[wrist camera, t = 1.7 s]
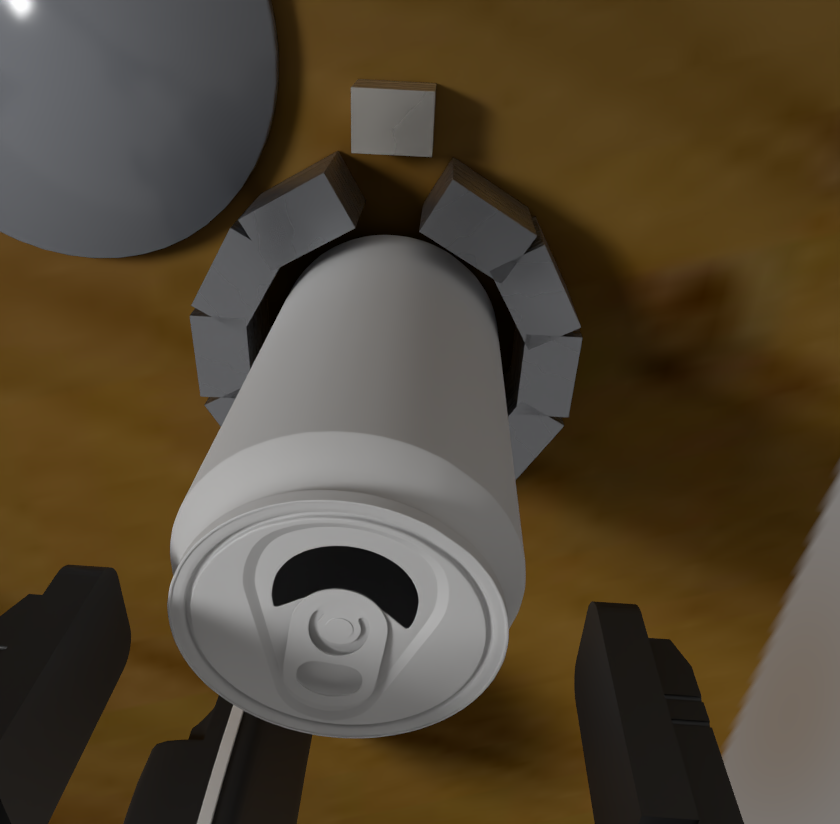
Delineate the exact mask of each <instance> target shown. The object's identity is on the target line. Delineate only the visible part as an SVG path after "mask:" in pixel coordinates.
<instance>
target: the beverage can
mask: <svg viewBox="0 0 840 824" xmlns="http://www.w3.org/2000/svg"><path fill="white" fill-rule="evenodd" d="M170 556H171V565H172V571H173V575H174V576H173V579H172V581H171V584H170V589H169V595H168V602H167V607H168V617H169V623H170V628H171V631H172V634H173V637H174V640H175V642H176V644H177V647H178V648H179V650H180V652H181V654H182V656H183V657H184V659H185V660H186V662H187V663H188V665H189V666H190V667H191V668H192V670H193V671H194V672H195V673H196V674H197V675H198V676H199V677H200V679H201V680H202V681H203V682H204V683H205V684H207V685H208V686H209V687H210V688H211V689H212V690H213V691H215V692H216V693H217V694H219V695H220V696H221V697H223V698H224V699H225V700H227V701H228V702H230V703H232V704H233V705H235V706H236V707H238V708H240V709H242V710H243V711H245V712H247V713H249V714H251V715H253V716H255V717H258V718H260V719H262V720H265V721H267V722H270V723H272V724H275V725H278V726H281V727H284V728H287V729H291V730H295V731H299V732H304V733H308V734H313V735H319V736H327V737H337V738H375V737H384V736H391V735H397V734H402V733H407V732H411V731H415V730H418V729H422V728H424V727H427V726H430V725H433V724H435V723H438V722H440V721H442V720H444V719H446V718H448V717H450V716H452V715H454V714H456V713H457V712H459V711H460V710H462V709H464V708H465V707H466V706H468V705H469V704H470V703H472V702H473V701H474V700H475V699H476V698H477V697H479V696H480V695H481V694H482V693H483V692H484V690H485V689H486V688H487V687H488V686H489V685H490V683H491V682H492V681H493V679H494V678H495V676H496V674H497V673H498V671H499V669H500V667H501V665H502V663H503V661H504V658H505V655H506V651H507V647H508V640H509V628H510V626H511V625H512V623H513V621H514V619H515V617H516V615H517V613H518V611H519V608H520V605H521V602H522V598H523V594H524V589H525V576H526V575H525V558H524V549H523V541H522V532H521V524H520V515H519V507H518V498H517V490H516V481H515V473H514V464H513V456H512V447H511V439H510V430H509V422H508V413H507V405H506V396H505V388H504V380H503V371H502V363H501V354H500V346H499V337H498V329H497V322H496V317H495V313H494V309H493V307H492V304H491V302H490V299H489V297H488V295H487V293H486V291H485V290H484V288H483V286H482V285H481V283H480V282H479V280H478V279H477V278H476V276H475V275H474V274H473V273H472V272H471V271H470V270H469V269H468V268H467V267H465V266H464V265H463V264H462V263H461V262H460V261H458V260H457V259H456V258H455V257H454V256H452V255H451V254H450V253H448V252H446V251H445V250H443V249H441V248H439V247H437V246H435V245H432V244H430V243H428V242H425V241H422V240H418V239H415V238H411V237H405V236H397V235H373V236H365V237H361V238H357V239H353V240H350V241H347V242H344V243H342V244H340V245H337V246H335V247H333V248H331V249H330V250H328V251H326V252H325V253H323V254H322V255H320V256H319V257H318V258H317V259H315V260H314V261H313V262H312V263H311V264H310V265H309V266H308V267H307V268H306V269H305V270H304V271H303V272H302V274H301V275H300V276H299V278H298V279H297V281H296V282H295V284H294V285H293V287H292V289H291V291H290V293H289V295H288V297H287V299H286V301H285V302H284V304H283V306H282V308H281V310H280V312H279V314H278V316H277V318H276V320H275V322H274V324H273V326H272V328H271V330H270V332H269V334H268V336H267V338H266V340H265V342H264V344H263V346H262V348H261V350H260V352H259V354H258V355H257V357H256V359H255V361H254V363H253V365H252V367H251V369H250V371H249V373H248V375H247V377H246V379H245V381H244V383H243V385H242V387H241V389H240V391H239V393H238V395H237V397H236V399H235V401H234V403H233V405H232V407H231V408H230V410H229V412H228V414H227V416H226V418H225V420H224V422H223V424H222V426H221V428H220V430H219V432H218V434H217V436H216V438H215V440H214V442H213V444H212V446H211V448H210V450H209V452H208V454H207V456H206V458H205V459H204V461H203V463H202V465H201V467H200V469H199V471H198V473H197V475H196V477H195V479H194V481H193V483H192V485H191V487H190V489H189V491H188V493H187V495H186V497H185V499H184V501H183V503H182V505H181V507H180V509H179V512H178V514H177V517H176V519H175V522H174V525H173V529H172V536H171V543H170Z"/></svg>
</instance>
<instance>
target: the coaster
mask: <svg viewBox="0 0 840 824" xmlns="http://www.w3.org/2000/svg"><path fill="white" fill-rule="evenodd" d="M278 84H279V48H278V40H277V31H276V22H275V16H274V11H273V7H272V3H271V0H0V232H2V233H5V234H7V235H9V236H11V237H13V238H15V239H17V240H20V241H22V242H25V243H28V244H31V245H34V246H36V247H39V248H42V249H46V250H50V251H54V252H58V253H62V254H67V255H73V256H81V257H90V258H121V257H128V256H135V255H142V254H145V253H149V252H152V251H156V250H159V249H163V248H166V247H168V246H170V245H172V244H175V243H177V242H179V241H181V240H183V239H185V238H187V237H189V236H190V235H192V234H193V233H195V232H196V231H198V230H199V229H201V228H202V227H204V226H205V225H207V224H208V223H209V222H210V221H211V220H212V219H213V218H215V217H216V216H217V215H218V214H219V213H220V212H221V211H222V210H223V209H224V208H225V207H226V206H227V205H228V204H229V203H230V202H231V201H232V200H233V198H234V197H235V196H236V195H237V193H238V192H239V191H240V190H241V189H242V187H243V186H244V185H245V183H246V182H247V180H248V178H249V177H250V175H251V173H252V172H253V170H254V168H255V167H256V165H257V163H258V161H259V159H260V156H261V154H262V151H263V149H264V147H265V144H266V142H267V139H268V136H269V132H270V128H271V125H272V121H273V117H274V113H275V107H276V99H277V91H278Z"/></svg>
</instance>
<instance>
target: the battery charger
mask: <svg viewBox="0 0 840 824" xmlns="http://www.w3.org/2000/svg"><path fill="white" fill-rule="evenodd" d="M311 739H312V734H308V733H304V732H299V731H295V730H291V729H287V728H284V727H281V726H278V725H275V724H272V723H270V722H267V721H265V720H262V719H260V718H258V717H255V716H253V715H251V714H249V713H247V712H245V711H243V710H242V709H240V708H238V707H236V706H235V705H233V704H232V703H230V702H228V701H227V700H225V699H224V698H223V697H221V696H220V695H219V697H218V700H217V702H216V705H215V707H214V709H213V710H212V711H211V712H210V713H209V714H208V715H207V716H206V717H205V718H204V719H203V720H202V721H201V722H200V723H199V724H198V725H196V726H195V727H194V728H193V729H192V731H191V734H190V736H189V739H188V740H174V741H166V742H163V743H159V744H157V745H156V746H155V747H154V748H153V749H152V751H151V754H150V756H149V758H148V761H147V763H146V765H145V767H144V770H143V772H142V774H141V776H140V779H139V781H138V783H137V786H136V789H135V792H134V795H133V797H132V800H131V803H130V806H129V809H128V812H127V815H126V818H125V821H124V824H297V818H298V812H299V806H300V801H301V795H302V789H303V783H304V777H305V771H306V766H307V760H308V755H309V749H310V744H311Z"/></svg>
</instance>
